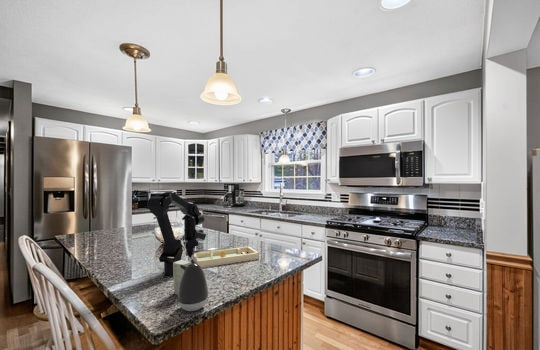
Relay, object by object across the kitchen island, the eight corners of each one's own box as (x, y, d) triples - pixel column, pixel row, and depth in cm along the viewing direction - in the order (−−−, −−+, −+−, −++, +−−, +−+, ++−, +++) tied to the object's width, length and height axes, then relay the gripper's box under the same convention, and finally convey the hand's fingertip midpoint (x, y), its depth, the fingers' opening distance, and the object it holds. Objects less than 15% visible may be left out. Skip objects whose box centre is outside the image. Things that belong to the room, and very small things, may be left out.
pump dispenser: (189, 299, 94) (189, 258, 94) (213, 302, 91) (213, 260, 91) (170, 312, 84) (170, 266, 84) (197, 317, 81) (197, 269, 81)
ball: (226, 257, 142) (226, 251, 142) (220, 258, 140) (220, 252, 140) (225, 256, 145) (225, 250, 145) (219, 257, 143) (219, 250, 143)
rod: (229, 256, 143) (229, 245, 143) (186, 262, 133) (186, 251, 133) (228, 255, 145) (228, 244, 146) (185, 261, 135) (185, 249, 136)
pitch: (259, 259, 142) (259, 252, 142) (197, 268, 128) (197, 261, 128) (249, 252, 157) (248, 246, 157) (192, 259, 142) (192, 253, 143)
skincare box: (192, 292, 99) (192, 261, 100) (183, 297, 96) (183, 264, 96) (182, 289, 103) (182, 259, 103) (172, 293, 99) (172, 262, 99)
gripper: (208, 228, 130) (208, 259, 130) (202, 223, 147) (202, 250, 147) (186, 230, 126) (186, 262, 125) (182, 225, 143) (182, 252, 142)
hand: (189, 256), depth 135 cm, fingers closed on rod, 3 cm apart
